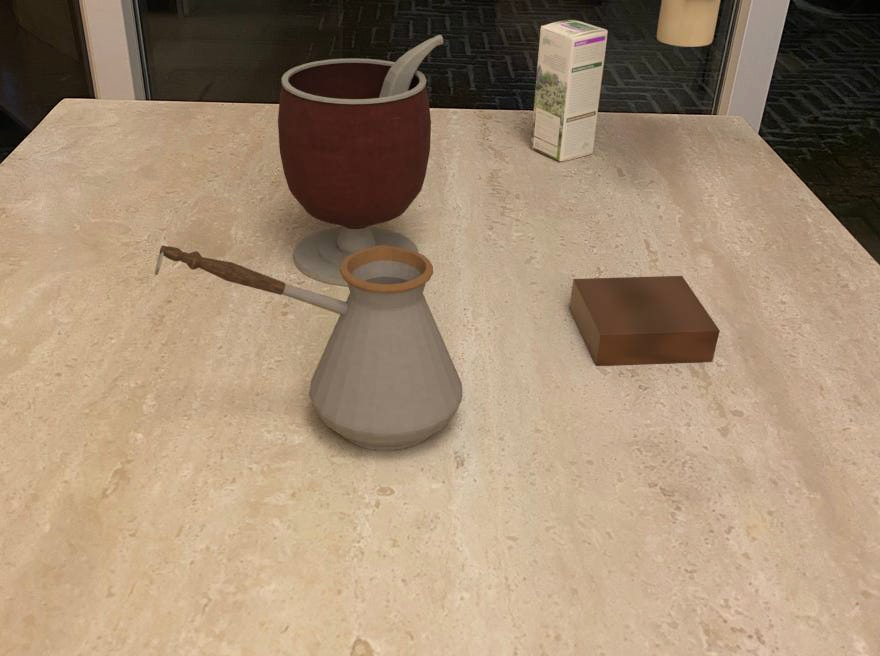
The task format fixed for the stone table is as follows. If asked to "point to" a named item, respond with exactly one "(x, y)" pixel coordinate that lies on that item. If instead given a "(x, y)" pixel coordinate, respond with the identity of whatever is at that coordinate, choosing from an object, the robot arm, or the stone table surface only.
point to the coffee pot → (370, 347)
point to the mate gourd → (354, 151)
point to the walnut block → (642, 320)
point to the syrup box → (568, 89)
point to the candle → (687, 22)
